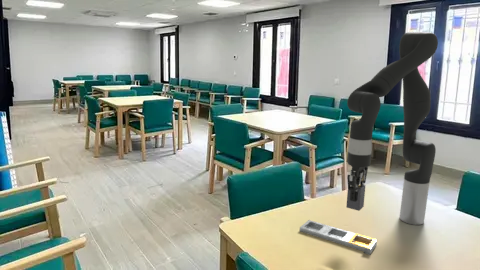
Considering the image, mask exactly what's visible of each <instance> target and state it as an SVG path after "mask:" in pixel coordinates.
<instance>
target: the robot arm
mask: <svg viewBox="0 0 480 270" xmlns="http://www.w3.org/2000/svg"><path fill="white" fill-rule="evenodd" d="M399 40H400V41H399V48H398V49H399V50H398V51H399V59H398V60H395V61H393V62H391V63H390V64H387V65H386V66H385V67H383V68H382V69H380V70H379V71H378V72H377V73H376V74H375V75H374V76H373V77H372V78H371V79H370V80H369V81H367V82H365V83H363V84H362V85H360V86H359V87H358V88H356V89H354V90H353V91H352V92H351V93H350V95H349V96H348V98H347V100H346V101H347V103H346V104H347V107H348V109H349V110H350V111H351V112H354V113H360V114H361V117H360V119H355V120H353V121H351V124H350V131H349V132H350V133H349V142H348V149H347V161H346V163H347V164H348V165H349V166H351V170H350V173H349V174H347V176H346V177H347V191H348V190H351V191H350V201H354V202H356V201H357V192H358V186H359V185H360V184H363V185H365V184H366V181H367V176H368V170H369V167H370V166H371V161H372V153H373V151H372V150H373V131H374V129H373V128H374V125H375V124H376V120H377V118H378V115H379V112H380V109H381V107H382V106H381V105H382V104H381V103H382V102H381V98H383V97H385V96H387V94H389V92H391V91H392V90H393V89H394V87H396V86H397V84H399V82H400V81H401V80H402V103H403V105H402V108H403V137H402V138H403V139H402V157H403V159H404V160H405V161H406V162H408V163H412V164H416V165H419V168H417V169H409V170H406V171H405V173H404V175H403V176H404V177H403V184H402V185H403V186H402V193H401V194H402V195H401V201H400V209H399V217H398V218H399V220H400V221H402V222H404V223H407V224H409V225H414V226H415V225H416V226H418V225H423V224H425V218H426V213H427V212H426V210H427V203H428V195H429V188H430V182H431V181H430V180H431V177H432V174H433V168H434V162H435V158H436V146H435V143H433V142H429V141H424V140H419V139H417V132H418V129H419V127H420V125H421V124H422V123H423V122H424V121H425V120H426V118H428V116H429V114H430V111H431V102H432V101H431V99H432V97H431V95H432V94H431V91H430V89H429V86H428V85H427V83H426V81H425V80H424V78H423V77H422V75H421V72H420V71H419V69H418V67H420V66H421V65H423V63H426V62H427V61H428V60H430V59H431V58H433V55H435V53H436V51H437V50H438V47H439V46H438V45H439V41H438V37H437V35H436V34H435V33H434V32H430V31H429V32H427V31H415V32H414V31H411V32H410V31H409V32H405V33H404V34H403V35H402V36H401V37H400V39H399Z"/></svg>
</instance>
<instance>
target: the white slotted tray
mask: <svg viewBox="0 0 480 270" xmlns="http://www.w3.org/2000/svg"><path fill="white" fill-rule="evenodd" d="M299 232H300V233H303V234H308V235H310V236H314V237H317V238H320V239H323V240H327V241H330V242H333V243H336V244H339V245H342V246H345V247H349V248H352V249H355V250H358V251H361V252H363V254H366V255H368V256H369V255H371V254H372V252H373V251H374V250H375V248H376V247H377V244H378V239H377V238H373V237H370V236H367V235H363V234H360V233H355V232H353V231H348V230H345V229H341V228H338V227H334V226H330V225H329V224H328V225H327V224H326V223H321V222H317V221H314V220H310V219H308V220H307V221H306V222H304V223H303V224H302V225H301V226H300V227H299Z"/></svg>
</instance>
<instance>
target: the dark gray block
mask: <svg viewBox="0 0 480 270" xmlns="http://www.w3.org/2000/svg"><path fill="white" fill-rule="evenodd" d="M350 191H351V190H348V189H347V192H346V193H347V195H346V196H347V197H346V208H347V209H351V210H354V211H358V212H359V211H361V210H362V209H363V208H364V206H365V195H366V194H365V193H366V184H364V185H363V184H360V185H359V186H358V192H357V201H356V202H354V201H350Z"/></svg>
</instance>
